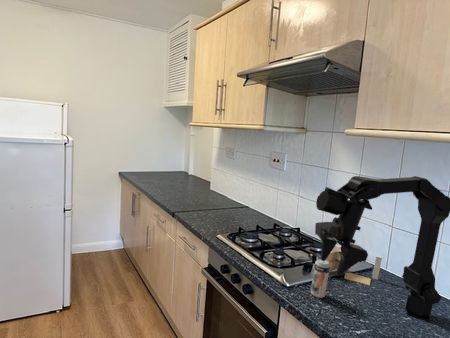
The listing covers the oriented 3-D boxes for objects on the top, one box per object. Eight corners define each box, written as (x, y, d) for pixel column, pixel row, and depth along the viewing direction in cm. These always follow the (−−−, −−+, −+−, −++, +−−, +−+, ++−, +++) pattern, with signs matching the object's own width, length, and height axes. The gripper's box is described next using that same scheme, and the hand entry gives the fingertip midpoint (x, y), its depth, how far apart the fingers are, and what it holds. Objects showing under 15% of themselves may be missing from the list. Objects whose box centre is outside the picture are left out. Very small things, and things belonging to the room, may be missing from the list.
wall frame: (377, 278, 123) (381, 256, 121) (377, 280, 121) (381, 258, 120) (322, 262, 132) (326, 242, 130) (322, 264, 130) (325, 243, 129)
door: (340, 268, 127) (343, 249, 126) (344, 270, 125) (347, 251, 124) (322, 271, 122) (325, 252, 121) (326, 274, 121) (329, 254, 119)
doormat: (370, 279, 121) (370, 278, 121) (369, 286, 116) (370, 285, 116) (345, 272, 125) (346, 271, 125) (344, 278, 120) (344, 277, 120)
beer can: (307, 291, 107) (312, 259, 105) (318, 290, 109) (323, 257, 107) (316, 299, 103) (322, 265, 101) (328, 297, 105) (333, 264, 103)
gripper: (310, 202, 98) (293, 248, 100) (342, 223, 80) (321, 278, 82) (341, 211, 101) (323, 256, 103) (378, 233, 83) (356, 286, 85)
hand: (329, 267), depth 93 cm, fingers open, 9 cm apart
